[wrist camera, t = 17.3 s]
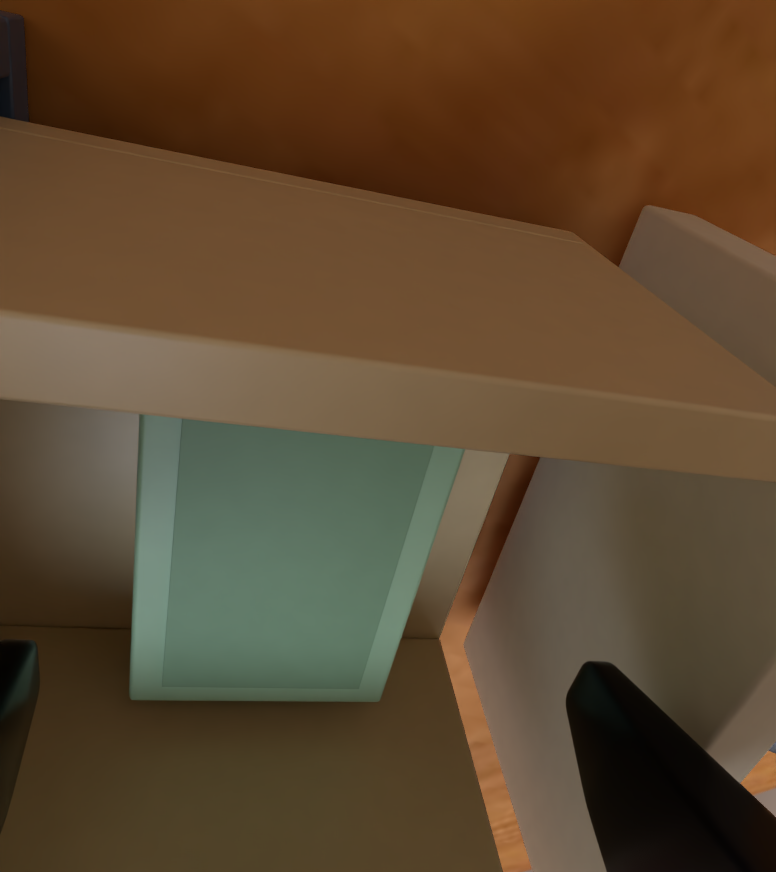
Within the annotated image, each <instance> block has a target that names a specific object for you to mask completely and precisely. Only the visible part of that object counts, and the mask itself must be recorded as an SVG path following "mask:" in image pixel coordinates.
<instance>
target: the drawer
mask: <svg viewBox="0 0 776 872" xmlns="http://www.w3.org/2000/svg"><path fill="white" fill-rule="evenodd" d="M139 414H143V415H153V416H162V417H171V418H181V419H190V420H199V421H208V422H218V423H227V424H236V425H246V426H255V427H264V428H274V429H283V430H292V431H302V432H311V433H320V434H329V435H339V436H348V437H357V438H367V439H376V440H385V441H395V442H404V443H413V444H422V445H432V446H441V447H450V448H460V449H465V451H464V454H463V457H462V460H461V463H460V466H459V469H458V472H457V475H456V478H455V481H454V484H453V487H452V490H451V493H450V496H449V499H448V502H447V504H446V507H445V510H444V513H443V516H442V519H441V522H440V525H439V528H438V531H437V534H436V537H435V540H434V543H433V546H432V549H431V552H430V555H429V558H428V560H427V563H426V566H425V569H424V572H423V575H422V578H421V581H420V584H419V587H418V590H417V593H416V596H415V599H414V602H413V605H412V608H411V611H410V613H409V616H408V619H407V622H406V625H405V628H404V631H403V634H402V637H401V640H400V643H399V646H398V649H397V652H396V655H395V658H394V661H393V664H392V667H391V669H390V672H389V675H388V678H387V681H386V684H385V687H384V690H383V693H382V696H381V699H380V701H378V702H304V701H167V700H131V699H130V697H129V678H130V651H131V625H132V598H133V572H134V545H135V518H136V492H137V465H138V439H139ZM510 454H516V455H525V456H534V457H540V459H539V462H538V464H537V466H536V469H535V471H534V474H533V476H532V479H531V481H530V483H529V486H528V488H527V491H526V493H525V496H524V498H523V500H522V503H521V505H520V508H519V510H518V513H517V515H516V517H515V520H514V522H513V525H512V527H511V530H510V532H509V534H508V537H507V539H506V542H505V544H504V547H503V549H502V551H501V554H500V556H499V559H498V561H497V564H496V566H495V568H494V571H493V573H492V576H491V578H490V581H489V583H488V585H487V588H486V590H485V593H484V595H483V598H482V600H481V602H480V605H479V607H478V610H477V612H476V615H475V617H474V619H473V622H472V624H471V627H470V629H469V632H468V634H467V636H466V639H465V641H464V648H465V652H466V655H467V658H468V662H469V665H470V668H471V671H472V675H473V678H474V681H475V684H476V688H477V691H478V694H479V697H480V701H481V704H482V707H483V710H484V714H485V717H486V720H487V724H488V727H489V730H490V733H491V737H492V740H493V743H494V746H495V750H496V753H497V756H498V759H499V763H500V766H501V769H502V773H503V776H504V779H505V782H506V786H507V789H508V792H509V795H510V799H511V802H512V805H513V808H514V812H515V815H516V818H517V822H518V825H519V828H520V831H521V835H522V838H523V841H524V844H525V848H526V851H527V854H528V857H529V861H530V864H531V867H532V871H533V872H607V871H606V868H605V865H604V861H603V858H602V855H601V852H600V849H599V845H598V842H597V839H596V836H595V832H594V829H593V826H592V823H591V819H590V816H589V812H588V809H587V805H586V801H585V797H584V793H583V788H582V784H581V779H580V774H579V769H578V764H577V760H576V755H575V750H574V745H573V740H572V735H571V731H570V726H569V721H568V716H567V711H566V695H567V692H568V690H569V688H570V686H571V684H572V683H573V681H574V679H575V677H576V675H577V674H578V672H579V670H580V668H581V666H582V665H583V664H584V663H585V662H587V661H606V662H610V663H612V664H614V665H615V666H616V667H617V668H618V669H619V670H620V671H621V672H623V673H624V674H625V675H626V676H627V677H628V678H629V679H630V680H631V681H632V682H633V683H634V684H635V685H636V686H637V687H638V688H639V689H641V690H642V691H643V692H644V693H645V694H646V695H647V696H648V697H649V698H650V699H651V700H652V701H653V702H654V703H655V704H656V705H657V706H659V707H660V708H661V709H662V710H663V711H664V712H665V713H666V714H667V715H668V716H669V717H670V718H671V719H672V720H673V721H674V722H675V723H677V724H678V725H679V726H680V727H681V728H682V729H683V730H684V731H685V732H686V733H687V734H688V735H689V736H690V737H691V738H692V739H693V740H695V741H696V742H697V743H698V744H699V745H700V746H701V747H702V748H703V749H704V750H705V751H706V752H707V753H708V754H709V755H710V756H711V757H713V758H714V759H715V760H716V761H717V762H718V763H719V764H720V765H721V766H722V767H723V768H724V769H725V770H726V771H727V772H728V773H729V774H731V775H732V776H733V777H734V778H735V779H736V780H737V781H738V782H739V783H741V782H742V781H743V779H744V778H745V777H746V776H747V775H748V774H749V772H750V771H751V770H752V769H753V768H754V767H755V765H756V764H757V763H758V762H759V761H760V760H761V758H762V757H763V756H764V755H765V754H766V753H767V751H771V752H773V753H776V256H774V255H772V254H770V253H768V252H766V251H764V250H763V249H761V248H759V247H757V246H755V245H753V244H751V243H749V242H747V241H745V240H743V239H741V238H739V237H737V236H735V235H733V234H731V233H729V232H727V231H725V230H723V229H721V228H719V227H717V226H715V225H713V224H711V223H709V222H707V221H705V220H703V219H701V218H699V217H697V216H695V215H692V214H687V213H683V212H678V211H674V210H669V209H664V208H660V207H655V206H651V205H648V206H644V208H643V209H642V211H641V214H640V216H639V219H638V221H637V223H636V226H635V228H634V231H633V233H632V236H631V238H630V240H629V243H628V245H627V248H626V250H625V253H624V255H623V257H622V260H621V262H620V265H619V267H617V266H616V265H615V264H614V263H612V262H611V261H610V260H608V259H607V258H606V257H604V256H603V255H602V254H600V253H599V252H598V251H596V250H595V249H594V248H593V247H591V246H590V245H588V244H587V243H586V242H585V241H583V240H582V239H581V238H579V237H578V236H577V235H575V234H574V233H573V232H570V231H565V230H560V229H555V228H550V227H545V226H540V225H535V224H530V223H525V222H520V221H515V220H510V219H505V218H500V217H496V216H491V215H486V214H481V213H476V212H471V211H466V210H461V209H456V208H451V207H446V206H441V205H436V204H431V203H426V202H421V201H416V200H411V199H406V198H401V197H396V196H391V195H386V194H382V193H377V192H372V191H367V190H362V189H357V188H352V187H347V186H342V185H337V184H332V183H327V182H322V181H317V180H312V179H307V178H302V177H297V176H292V175H287V174H282V173H277V172H273V171H268V170H263V169H258V168H253V167H248V166H243V165H238V164H233V163H228V162H223V161H218V160H213V159H208V158H203V157H198V156H193V155H188V154H183V153H178V152H173V151H168V150H163V149H159V148H154V147H149V146H144V145H139V144H134V143H129V142H124V141H119V140H114V139H109V138H104V137H99V136H94V135H89V134H84V133H79V132H74V131H69V130H64V129H59V128H54V127H50V126H45V125H40V124H35V123H30V122H25V121H20V120H15V119H10V118H5V117H0V641H2V640H4V639H24V640H33V641H35V642H36V644H37V646H38V657H39V671H40V688H39V695H38V699H37V703H36V707H35V711H34V715H33V719H32V722H31V726H30V730H29V734H28V738H27V742H26V746H25V750H24V753H23V757H22V761H21V765H20V769H19V773H18V777H17V780H16V784H15V788H14V792H13V796H12V799H11V803H10V806H9V810H8V813H7V817H6V820H5V822H4V825H3V828H2V831H1V834H0V872H503V870H502V867H501V863H500V859H499V856H498V852H497V848H496V845H495V841H494V837H493V834H492V830H491V826H490V823H489V819H488V815H487V811H486V808H485V804H484V800H483V797H482V793H481V789H480V786H479V782H478V778H477V775H476V771H475V767H474V764H473V760H472V756H471V753H470V749H469V745H468V742H467V738H466V734H465V731H464V727H463V723H462V720H461V716H460V712H459V708H458V705H457V701H456V697H455V694H454V690H453V686H452V683H451V679H450V675H449V672H448V668H447V664H446V661H445V657H444V653H443V650H442V646H441V642H440V640H439V638H440V635H441V633H442V630H443V627H444V625H445V622H446V619H447V617H448V614H449V612H450V609H451V606H452V604H453V601H454V599H455V596H456V593H457V591H458V588H459V585H460V583H461V580H462V578H463V575H464V572H465V570H466V567H467V564H468V562H469V559H470V557H471V554H472V551H473V549H474V546H475V544H476V541H477V538H478V536H479V533H480V530H481V528H482V525H483V523H484V520H485V517H486V515H487V512H488V510H489V507H490V504H491V502H492V499H493V496H494V494H495V491H496V489H497V486H498V483H499V481H500V478H501V476H502V473H503V470H504V468H505V465H506V462H507V460H508V457H509V455H510Z"/></svg>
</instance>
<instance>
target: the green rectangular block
mask: <svg viewBox="0 0 776 872" xmlns="http://www.w3.org/2000/svg"><path fill="white" fill-rule="evenodd" d="M464 451H465V449H460V448H450V447H441V446H432V445H422V444H413V443H404V442H395V441H385V440H376V439H367V438H357V437H348V436H339V435H329V434H320V433H311V432H302V431H292V430H283V429H274V428H264V427H255V426H246V425H236V424H227V423H218V422H208V421H199V420H190V419H181V418H171V417H162V416H153V415H143V414H139V439H138V465H137V492H136V518H135V545H134V572H133V598H132V625H131V651H130V678H129V697H130V699H131V700H167V701H304V702H378V701H380V699H381V696H382V693H383V690H384V687H385V684H386V681H387V678H388V675H389V672H390V669H391V667H392V664H393V661H394V658H395V655H396V652H397V649H398V646H399V643H400V640H401V637H402V634H403V631H404V628H405V625H406V622H407V619H408V616H409V613H410V611H411V608H412V605H413V602H414V599H415V596H416V593H417V590H418V587H419V584H420V581H421V578H422V575H423V572H424V569H425V566H426V563H427V560H428V558H429V555H430V552H431V549H432V546H433V543H434V540H435V537H436V534H437V531H438V528H439V525H440V522H441V519H442V516H443V513H444V510H445V507H446V504H447V502H448V499H449V496H450V493H451V490H452V487H453V484H454V481H455V478H456V475H457V472H458V469H459V466H460V463H461V460H462V457H463V454H464Z"/></svg>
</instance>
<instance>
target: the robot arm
mask: <svg viewBox="0 0 776 872" xmlns="http://www.w3.org/2000/svg"><path fill="white" fill-rule="evenodd" d="M39 688H40V671H39V657H38V646H37V644H36V642H35V641H33V640H24V639H4V640H2V641H0V834H1V831H2V828H3V825H4V822H5V820H6V817H7V813H8V810H9V806H10V803H11V799H12V796H13V792H14V788H15V784H16V780H17V777H18V773H19V769H20V765H21V761H22V757H23V753H24V750H25V746H26V742H27V738H28V734H29V730H30V726H31V722H32V719H33V715H34V711H35V707H36V703H37V699H38V695H39ZM566 711H567V716H568V721H569V726H570V731H571V735H572V740H573V745H574V750H575V755H576V760H577V764H578V769H579V774H580V779H581V784H582V788H583V793H584V797H585V801H586V805H587V809H588V812H589V816H590V819H591V823H592V826H593V829H594V832H595V836H596V839H597V842H598V845H599V849H600V852H601V855H602V858H603V861H604V865H605V868H606V871H607V872H776V817H775V816H774V815H773V814H772V813H771V812H770V811H769V810H767V809H766V808H765V807H764V806H763V805H762V804H761V803H760V802H759V801H758V800H757V799H756V798H755V797H754V796H753V795H752V794H751V793H750V792H748V791H747V790H746V789H745V788H744V787H743V786H742V785H741V784H740V783H739V782H738V781H737V780H736V779H735V778H734V777H733V776H732V775H731V774H729V773H728V772H727V771H726V770H725V769H724V768H723V767H722V766H721V765H720V764H719V763H718V762H717V761H716V760H715V759H714V758H713V757H711V756H710V755H709V754H708V753H707V752H706V751H705V750H704V749H703V748H702V747H701V746H700V745H699V744H698V743H697V742H696V741H695V740H693V739H692V738H691V737H690V736H689V735H688V734H687V733H686V732H685V731H684V730H683V729H682V728H681V727H680V726H679V725H678V724H677V723H675V722H674V721H673V720H672V719H671V718H670V717H669V716H668V715H667V714H666V713H665V712H664V711H663V710H662V709H661V708H660V707H659V706H657V705H656V704H655V703H654V702H653V701H652V700H651V699H650V698H649V697H648V696H647V695H646V694H645V693H644V692H643V691H642V690H641V689H639V688H638V687H637V686H636V685H635V684H634V683H633V682H632V681H631V680H630V679H629V678H628V677H627V676H626V675H625V674H624V673H623V672H621V671H620V670H619V669H618V668H617V667H616V666H615V665H614V664H612V663H610V662H606V661H587V662H585V663H584V664H583V665H582V666H581V668H580V670H579V672H578V674H577V675H576V677H575V679H574V681H573V683H572V684H571V686H570V688H569V690H568V692H567V695H566Z"/></svg>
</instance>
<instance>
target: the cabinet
mask: <svg viewBox="0 0 776 872" xmlns="http://www.w3.org/2000/svg"><path fill="white" fill-rule="evenodd" d="M0 117H5V118H10V119H15V120H20V121H25V122H29V113H28V92H27V71H26V51H25V30H24V18H23V17H22V16H21V15H18V14H14V13H10V12H5V11H1V10H0Z"/></svg>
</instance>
